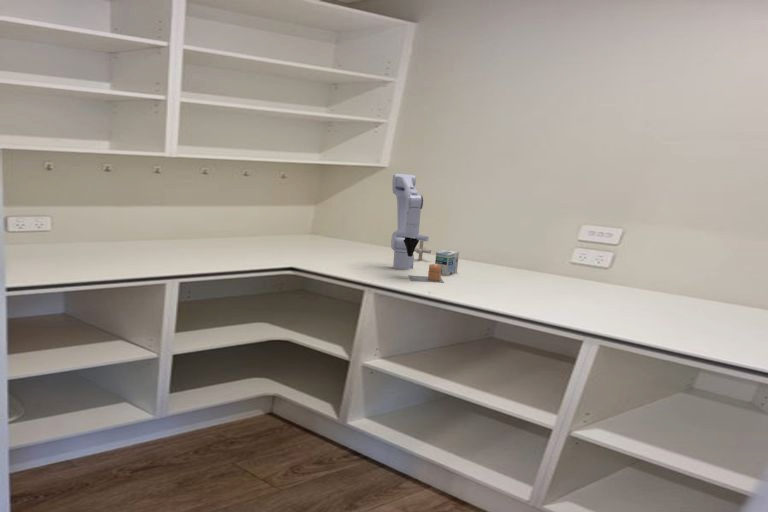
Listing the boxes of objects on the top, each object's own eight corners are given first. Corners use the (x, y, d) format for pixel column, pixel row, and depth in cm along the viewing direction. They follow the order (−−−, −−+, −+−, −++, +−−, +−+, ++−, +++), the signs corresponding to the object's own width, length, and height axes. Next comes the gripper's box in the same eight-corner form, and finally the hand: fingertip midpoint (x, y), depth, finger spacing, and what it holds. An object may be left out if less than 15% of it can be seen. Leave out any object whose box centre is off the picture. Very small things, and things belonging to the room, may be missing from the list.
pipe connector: (407, 260, 263) (409, 240, 261) (414, 257, 272) (415, 238, 270) (426, 263, 259) (428, 243, 257) (432, 259, 268) (434, 240, 266)
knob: (437, 281, 215) (438, 266, 214) (426, 279, 217) (427, 265, 216) (441, 279, 220) (442, 264, 218) (431, 277, 222) (432, 263, 220)
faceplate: (409, 283, 213) (410, 275, 213) (408, 278, 223) (408, 270, 223) (443, 285, 214) (444, 277, 213) (440, 280, 224) (441, 272, 223)
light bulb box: (447, 278, 227) (449, 254, 226) (433, 276, 231) (435, 252, 229) (457, 275, 236) (459, 251, 234) (443, 272, 240) (446, 249, 238)
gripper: (392, 222, 217) (390, 254, 219) (424, 226, 210) (422, 260, 213) (400, 221, 223) (397, 252, 226) (431, 225, 217) (428, 257, 219)
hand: (410, 256), depth 220 cm, fingers closed
